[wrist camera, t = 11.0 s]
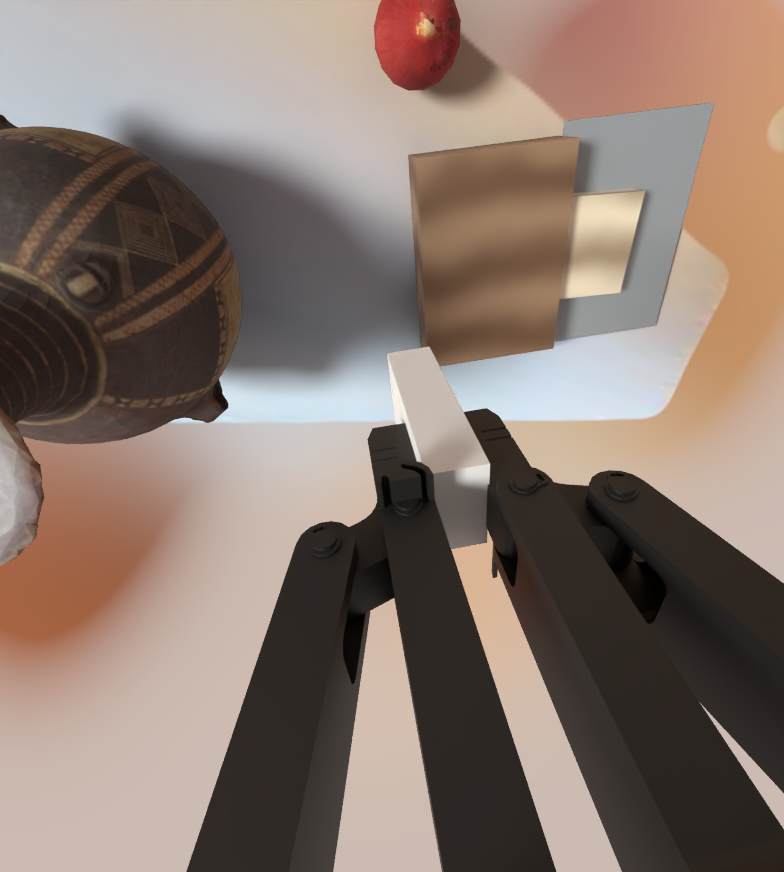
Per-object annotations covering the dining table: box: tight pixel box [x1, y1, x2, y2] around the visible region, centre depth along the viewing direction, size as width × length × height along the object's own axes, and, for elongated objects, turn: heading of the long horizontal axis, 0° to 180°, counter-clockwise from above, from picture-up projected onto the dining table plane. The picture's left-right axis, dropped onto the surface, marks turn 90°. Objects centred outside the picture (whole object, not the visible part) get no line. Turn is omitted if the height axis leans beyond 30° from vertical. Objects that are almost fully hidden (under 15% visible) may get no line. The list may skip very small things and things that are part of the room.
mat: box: [554, 103, 714, 341], centre depth 43 cm, size 20×13×1 cm, turn 6°
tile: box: [560, 188, 645, 299], centre depth 42 cm, size 9×7×2 cm
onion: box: [374, 0, 460, 90], centre depth 30 cm, size 6×6×8 cm
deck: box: [408, 136, 580, 366], centre depth 41 cm, size 18×13×4 cm
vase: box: [0, 115, 242, 566], centre depth 27 cm, size 23×19×30 cm
